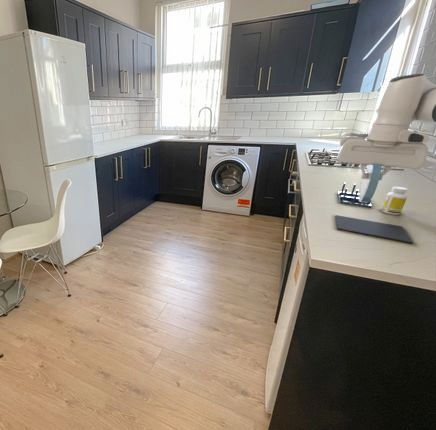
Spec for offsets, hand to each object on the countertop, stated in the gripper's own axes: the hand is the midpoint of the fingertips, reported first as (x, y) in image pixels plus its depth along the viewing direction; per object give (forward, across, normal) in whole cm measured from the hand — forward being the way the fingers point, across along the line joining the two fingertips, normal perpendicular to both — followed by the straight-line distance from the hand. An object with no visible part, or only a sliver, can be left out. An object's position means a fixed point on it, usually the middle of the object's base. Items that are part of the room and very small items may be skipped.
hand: (370, 179), depth 89 cm
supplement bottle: (+17, +13, +24) cm, 32 cm away
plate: (+8, 0, 0) cm, 8 cm away
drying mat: (+16, +4, 0) cm, 17 cm away
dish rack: (+16, +2, +34) cm, 38 cm away
